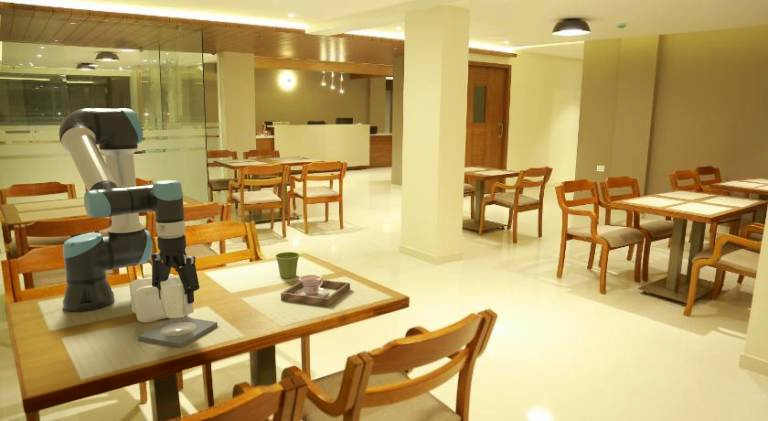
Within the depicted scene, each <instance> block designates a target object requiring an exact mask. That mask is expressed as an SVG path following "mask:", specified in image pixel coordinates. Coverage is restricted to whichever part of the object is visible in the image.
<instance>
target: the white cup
mask: <svg viewBox="0 0 768 421" xmlns="http://www.w3.org/2000/svg"><path fill="white" fill-rule="evenodd" d="M160 286H161V293H162V300H163V306H164V311H165V316H166V317H168V318H167V319H172V318H179V317H186V316H187V315H185V310H184V297H183V293H185V289H184V287H183V284H182V282H181V279H180V277H179V276H176V277H174V278H168V279H167V280H166V281H161V282H160Z"/></svg>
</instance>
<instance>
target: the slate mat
mask: <svg viewBox="0 0 768 421" xmlns="http://www.w3.org/2000/svg"><path fill="white" fill-rule="evenodd" d="M217 327H218V321H212V320H206V319H201V318H200V319H199V318H193V317H188V316H187V317H186V316H183V317H179V318H169V319H168V320H166V321H164V322H162V323H160V324H158V325H157V326H155V327H152V328H151V329H148V330H147V331H145V332H143V333H141V334H139V335H137V340H138V341H141V342H147V343H151V344H157V345H163V346H168V347H169V346H170V347H173V346H174V348H180V349H182V348H183V347H185V346H187V345H189V344H191V343H192V342H193V341H195V340H197V339H198V338H200V337H202V336H203V335H205V334H207V333H208V332H210V331H212V330H213V329H215V328H217ZM181 347H182V348H181Z"/></svg>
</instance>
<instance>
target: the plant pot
mask: <svg viewBox="0 0 768 421" xmlns="http://www.w3.org/2000/svg"><path fill="white" fill-rule="evenodd" d="M274 256H275V258H276V261H277V264H278V272H279V277H280V278H281V279H284V280H285V279H294V278H295V277H296V276H297V269H298V261H299V258H300V256H301V255H300V253H298V252H296V251H295V252H294V251H285V252H284V251H283V252H279V253H277V254H275V255H274Z"/></svg>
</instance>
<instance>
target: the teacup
mask: <svg viewBox="0 0 768 421" xmlns="http://www.w3.org/2000/svg"><path fill="white" fill-rule="evenodd" d="M321 280H322V281H321ZM323 280H324V277H323V276H322V275H319V274H307V275H303V276H302V275H301V277H299V278H298V281H299V282H301V283H302V285H303V287H304V288H302V289H300V290H298V291H296V292H295V293H294V294H300V295H307V296H315V297H323V298H326V297H327V296H328V294H329V292H328V290H327V289H326V288H323V287H321V285H322V283H323ZM320 281H321V284H320ZM319 284H320V285H319Z"/></svg>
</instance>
